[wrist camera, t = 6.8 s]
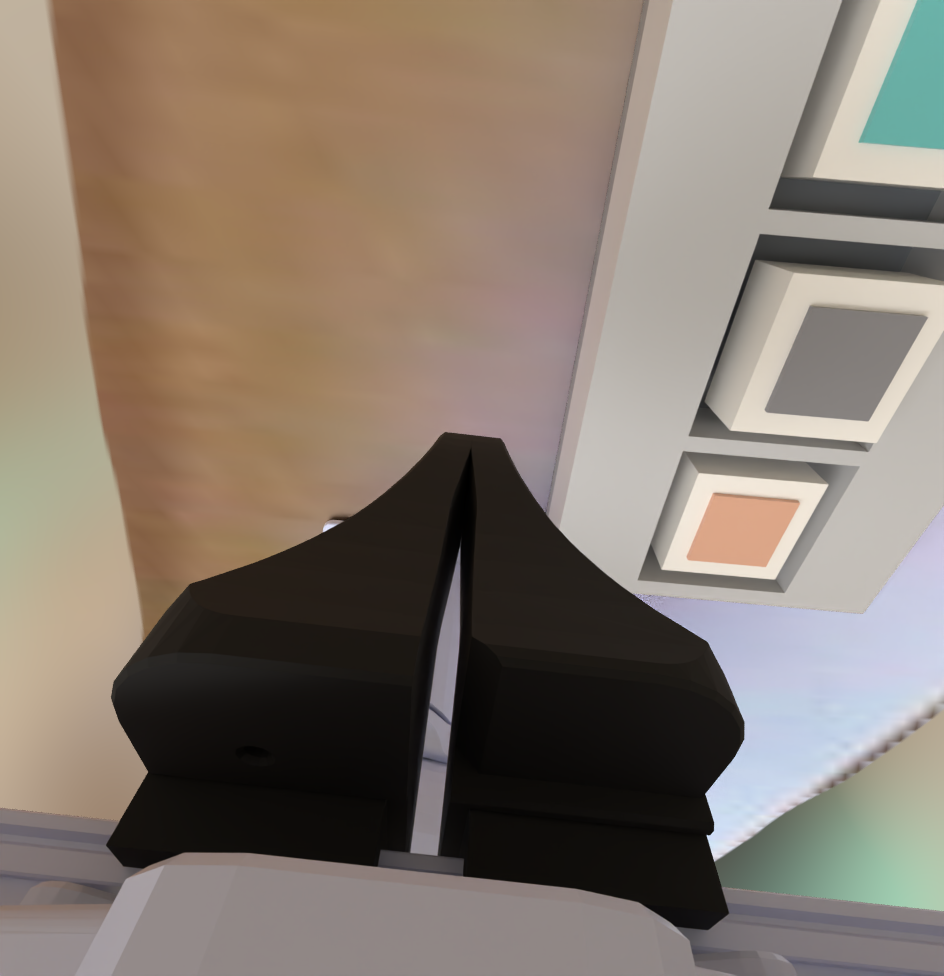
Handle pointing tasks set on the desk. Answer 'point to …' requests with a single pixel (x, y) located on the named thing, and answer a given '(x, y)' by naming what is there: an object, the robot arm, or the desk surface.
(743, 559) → the key terracotta
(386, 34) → the desk surface
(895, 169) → the key teal
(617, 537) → the keypad base
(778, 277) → the key charcoal
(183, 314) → the desk surface
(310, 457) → the desk surface
